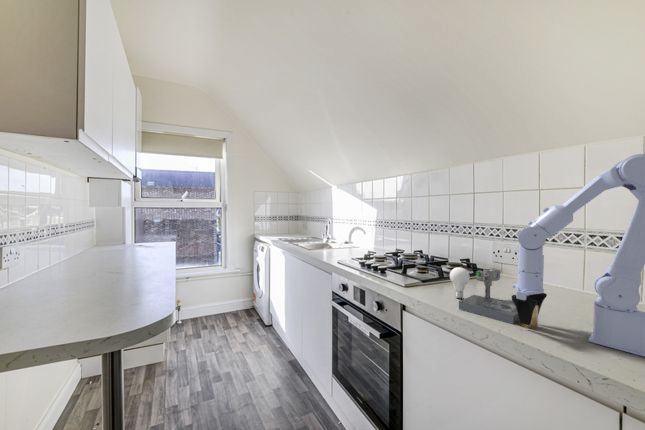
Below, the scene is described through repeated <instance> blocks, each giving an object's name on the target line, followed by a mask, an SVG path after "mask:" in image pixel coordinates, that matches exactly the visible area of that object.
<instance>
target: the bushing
mask: <svg viewBox="0 0 645 430" xmlns="http://www.w3.org/2000/svg"><path fill="white" fill-rule="evenodd" d="M519 326H520V327H523V328H525V329H529V330H537V329H538V328H539V327H538V326H539V315H538V305H537V304H536V306H535V308H534V311H533V315H532V320H531V323H530V325H526V324H522V323H520V322H519Z"/></svg>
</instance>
